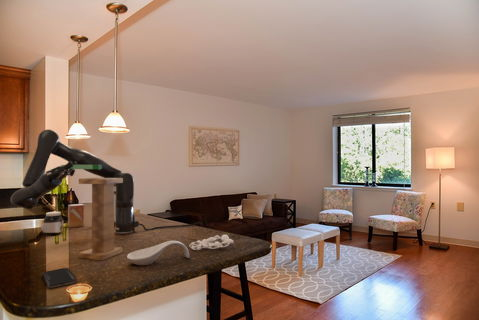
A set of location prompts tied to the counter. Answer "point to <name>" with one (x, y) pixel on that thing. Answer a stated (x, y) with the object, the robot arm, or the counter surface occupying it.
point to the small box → (76, 215)
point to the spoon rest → (153, 253)
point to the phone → (59, 277)
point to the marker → (86, 167)
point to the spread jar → (52, 224)
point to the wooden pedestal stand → (102, 219)
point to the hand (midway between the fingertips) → (74, 163)
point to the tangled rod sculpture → (209, 241)
